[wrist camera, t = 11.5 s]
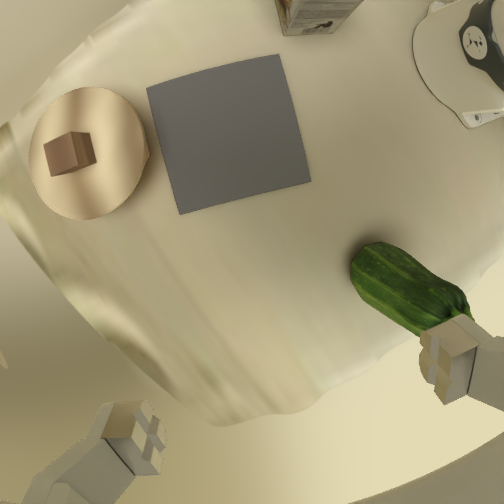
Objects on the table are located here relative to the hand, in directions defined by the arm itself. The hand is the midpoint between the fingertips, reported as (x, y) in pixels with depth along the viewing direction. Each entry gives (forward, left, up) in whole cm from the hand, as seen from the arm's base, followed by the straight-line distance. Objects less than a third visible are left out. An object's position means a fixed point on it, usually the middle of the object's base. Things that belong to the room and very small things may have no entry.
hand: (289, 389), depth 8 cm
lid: (+14, -11, -23) cm, 29 cm away
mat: (0, -9, -29) cm, 30 cm away
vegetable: (-13, +10, -29) cm, 34 cm away
